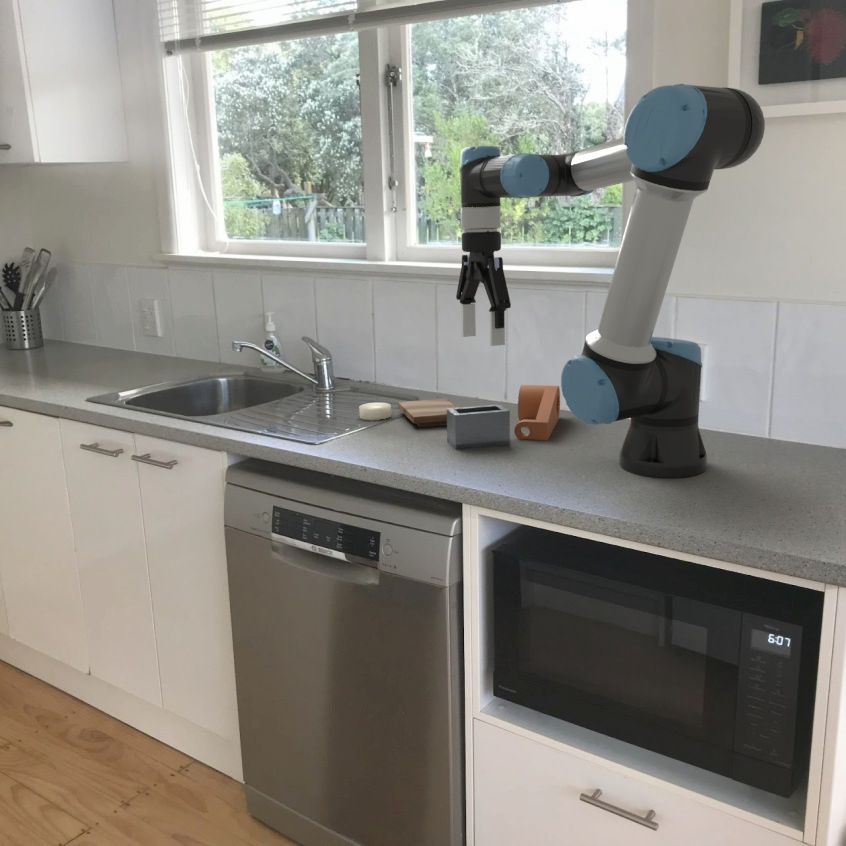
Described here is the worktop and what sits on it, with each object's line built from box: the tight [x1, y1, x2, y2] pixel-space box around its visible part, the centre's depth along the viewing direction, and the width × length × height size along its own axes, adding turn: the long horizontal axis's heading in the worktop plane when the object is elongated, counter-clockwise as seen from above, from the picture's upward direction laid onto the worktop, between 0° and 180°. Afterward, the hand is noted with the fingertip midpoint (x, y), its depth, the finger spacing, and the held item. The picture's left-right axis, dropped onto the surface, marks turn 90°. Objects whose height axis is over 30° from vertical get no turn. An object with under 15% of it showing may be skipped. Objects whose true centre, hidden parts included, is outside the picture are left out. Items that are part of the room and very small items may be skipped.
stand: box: [397, 397, 458, 428], centre depth 201 cm, size 15×11×3 cm
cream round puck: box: [358, 402, 392, 421], centre depth 204 cm, size 7×7×3 cm
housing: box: [446, 403, 511, 451], centre depth 180 cm, size 6×11×7 cm, turn 104°
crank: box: [513, 384, 561, 441], centre depth 192 cm, size 20×8×8 cm, turn 165°
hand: (482, 340), depth 181 cm, fingers open, 13 cm apart
